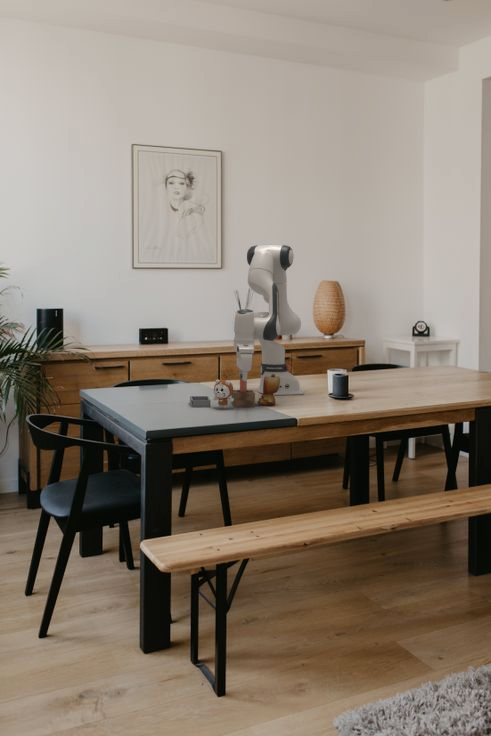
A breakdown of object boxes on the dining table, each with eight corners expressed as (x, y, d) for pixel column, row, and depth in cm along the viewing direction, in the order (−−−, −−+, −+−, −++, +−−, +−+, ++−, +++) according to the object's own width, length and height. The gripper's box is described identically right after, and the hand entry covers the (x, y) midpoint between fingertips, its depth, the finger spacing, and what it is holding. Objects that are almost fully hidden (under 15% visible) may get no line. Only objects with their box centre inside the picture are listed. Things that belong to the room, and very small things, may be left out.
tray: (208, 402, 304) (208, 396, 303) (210, 407, 293) (210, 400, 292) (189, 402, 302) (189, 396, 302) (191, 407, 292) (191, 400, 291)
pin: (245, 404, 301) (246, 374, 299) (246, 405, 298) (247, 375, 296) (238, 404, 300) (239, 374, 299) (239, 405, 298) (240, 375, 296)
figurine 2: (255, 402, 306) (264, 370, 305) (272, 406, 307) (280, 374, 306) (258, 406, 296) (267, 373, 295) (274, 410, 297) (284, 377, 296)
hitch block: (251, 403, 304) (251, 389, 304) (254, 406, 295) (255, 393, 295) (231, 403, 303) (231, 389, 302) (233, 407, 294) (234, 393, 293)
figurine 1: (207, 409, 288) (208, 380, 287) (217, 405, 296) (217, 378, 295) (227, 411, 284) (228, 382, 283) (236, 407, 292) (237, 379, 291)
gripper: (233, 345, 306) (232, 376, 307) (239, 349, 286) (238, 382, 287) (247, 345, 307) (246, 376, 308) (254, 349, 287) (253, 382, 288)
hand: (243, 379), depth 298 cm, fingers open, 8 cm apart
